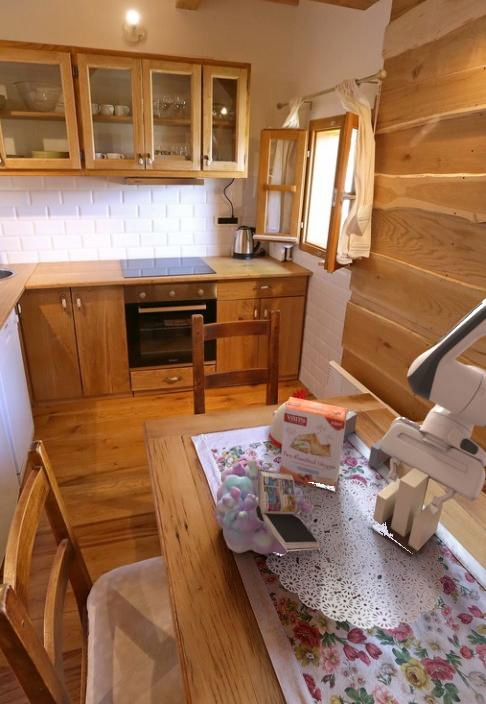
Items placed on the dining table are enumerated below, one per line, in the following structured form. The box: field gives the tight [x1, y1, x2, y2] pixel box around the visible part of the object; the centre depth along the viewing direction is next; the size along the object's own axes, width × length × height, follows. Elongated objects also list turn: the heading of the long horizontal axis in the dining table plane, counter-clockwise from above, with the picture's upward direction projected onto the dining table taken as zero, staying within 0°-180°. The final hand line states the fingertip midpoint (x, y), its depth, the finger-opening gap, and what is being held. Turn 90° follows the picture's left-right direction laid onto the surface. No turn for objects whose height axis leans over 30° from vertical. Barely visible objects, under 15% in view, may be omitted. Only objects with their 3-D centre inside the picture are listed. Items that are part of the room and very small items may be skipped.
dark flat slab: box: [380, 515, 418, 558], centre depth 88 cm, size 9×10×2 cm
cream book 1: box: [372, 477, 401, 525], centre depth 89 cm, size 2×8×7 cm, turn 128°
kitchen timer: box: [268, 388, 308, 450], centre depth 116 cm, size 14×14×15 cm
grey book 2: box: [368, 437, 392, 469], centre depth 109 cm, size 2×10×6 cm, turn 128°
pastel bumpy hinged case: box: [214, 455, 321, 555], centre depth 85 cm, size 20×22×18 cm
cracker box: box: [279, 396, 348, 488], centre depth 99 cm, size 14×6×21 cm, turn 68°
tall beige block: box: [391, 467, 430, 537], centre depth 85 cm, size 3×6×13 cm, turn 128°
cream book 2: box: [408, 501, 444, 552], centre depth 83 cm, size 2×8×7 cm, turn 128°
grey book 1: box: [344, 410, 358, 438], centre depth 118 cm, size 2×10×6 cm, turn 128°
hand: (412, 492), depth 85 cm, fingers open, 8 cm apart
